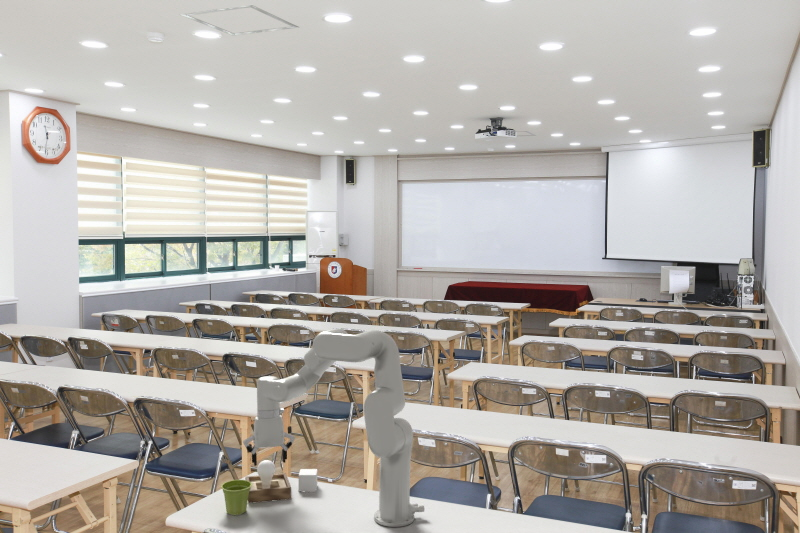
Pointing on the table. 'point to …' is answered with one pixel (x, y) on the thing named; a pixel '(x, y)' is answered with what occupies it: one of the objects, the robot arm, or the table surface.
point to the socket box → (269, 489)
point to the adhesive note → (308, 480)
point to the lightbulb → (266, 473)
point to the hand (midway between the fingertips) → (269, 463)
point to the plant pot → (236, 496)
